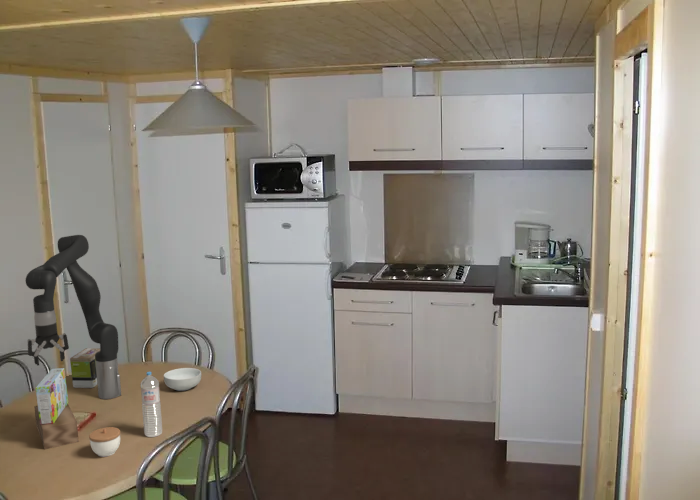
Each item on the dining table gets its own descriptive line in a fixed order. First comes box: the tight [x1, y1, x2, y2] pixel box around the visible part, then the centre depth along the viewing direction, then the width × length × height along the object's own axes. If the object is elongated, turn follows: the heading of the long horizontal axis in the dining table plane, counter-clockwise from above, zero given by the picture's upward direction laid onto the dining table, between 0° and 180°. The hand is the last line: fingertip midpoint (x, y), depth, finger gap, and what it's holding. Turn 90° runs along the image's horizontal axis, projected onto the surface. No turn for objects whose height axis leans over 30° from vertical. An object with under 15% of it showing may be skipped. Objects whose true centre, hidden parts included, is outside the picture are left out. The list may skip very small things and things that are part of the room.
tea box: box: [69, 347, 100, 389], centre depth 327 cm, size 15×10×15 cm, turn 172°
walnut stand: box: [34, 403, 80, 450], centre depth 271 cm, size 12×26×8 cm, turn 30°
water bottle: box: [139, 371, 163, 438], centre depth 267 cm, size 7×7×25 cm
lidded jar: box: [88, 426, 121, 458], centre depth 253 cm, size 11×11×9 cm
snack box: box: [35, 367, 69, 425], centre depth 269 cm, size 21×6×15 cm, turn 8°
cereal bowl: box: [163, 367, 202, 392], centre depth 317 cm, size 17×17×7 cm
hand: (49, 362), depth 267 cm, fingers open, 8 cm apart
